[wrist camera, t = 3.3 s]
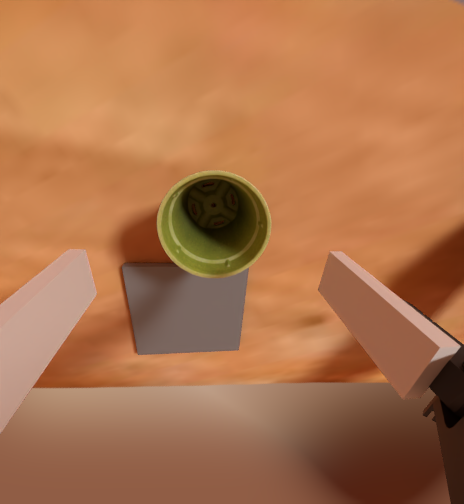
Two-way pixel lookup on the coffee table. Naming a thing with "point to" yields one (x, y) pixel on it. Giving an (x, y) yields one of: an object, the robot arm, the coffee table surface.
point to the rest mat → (183, 309)
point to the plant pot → (202, 225)
